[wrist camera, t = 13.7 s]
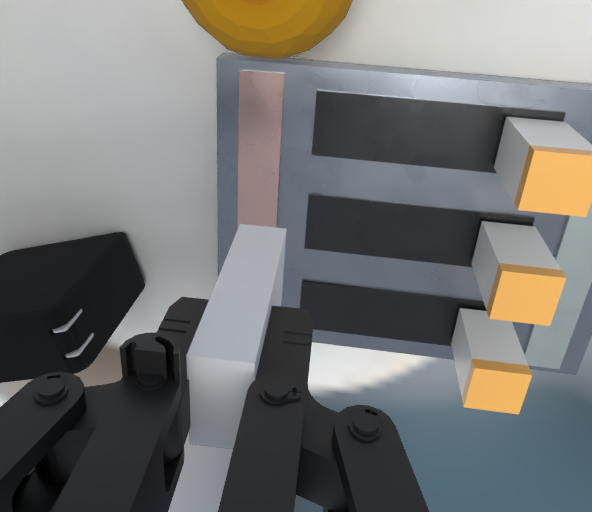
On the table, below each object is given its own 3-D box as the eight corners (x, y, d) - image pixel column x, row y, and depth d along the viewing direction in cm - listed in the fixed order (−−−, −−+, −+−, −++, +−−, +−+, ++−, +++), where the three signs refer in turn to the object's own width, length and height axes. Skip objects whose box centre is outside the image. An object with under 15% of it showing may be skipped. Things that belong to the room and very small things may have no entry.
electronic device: (2, 251, 40) (-103, 334, 31) (128, 229, 38) (54, 311, 29) (27, 300, 42) (-64, 391, 33) (149, 281, 40) (86, 374, 31)
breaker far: (451, 343, 36) (463, 407, 31) (459, 307, 35) (474, 368, 30) (498, 349, 36) (518, 414, 31) (508, 313, 35) (532, 375, 30)
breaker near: (493, 167, 30) (518, 210, 25) (506, 116, 29) (534, 150, 24) (550, 173, 30) (586, 217, 25) (565, 122, 29) (606, 157, 24)
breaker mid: (471, 263, 33) (489, 318, 28) (481, 221, 32) (502, 271, 27) (522, 269, 33) (550, 326, 28) (535, 226, 32) (566, 277, 27)
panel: (224, 315, 40) (217, 332, 38) (224, 52, 31) (215, 58, 30) (567, 357, 38) (577, 377, 36) (667, 90, 30) (687, 99, 28)
